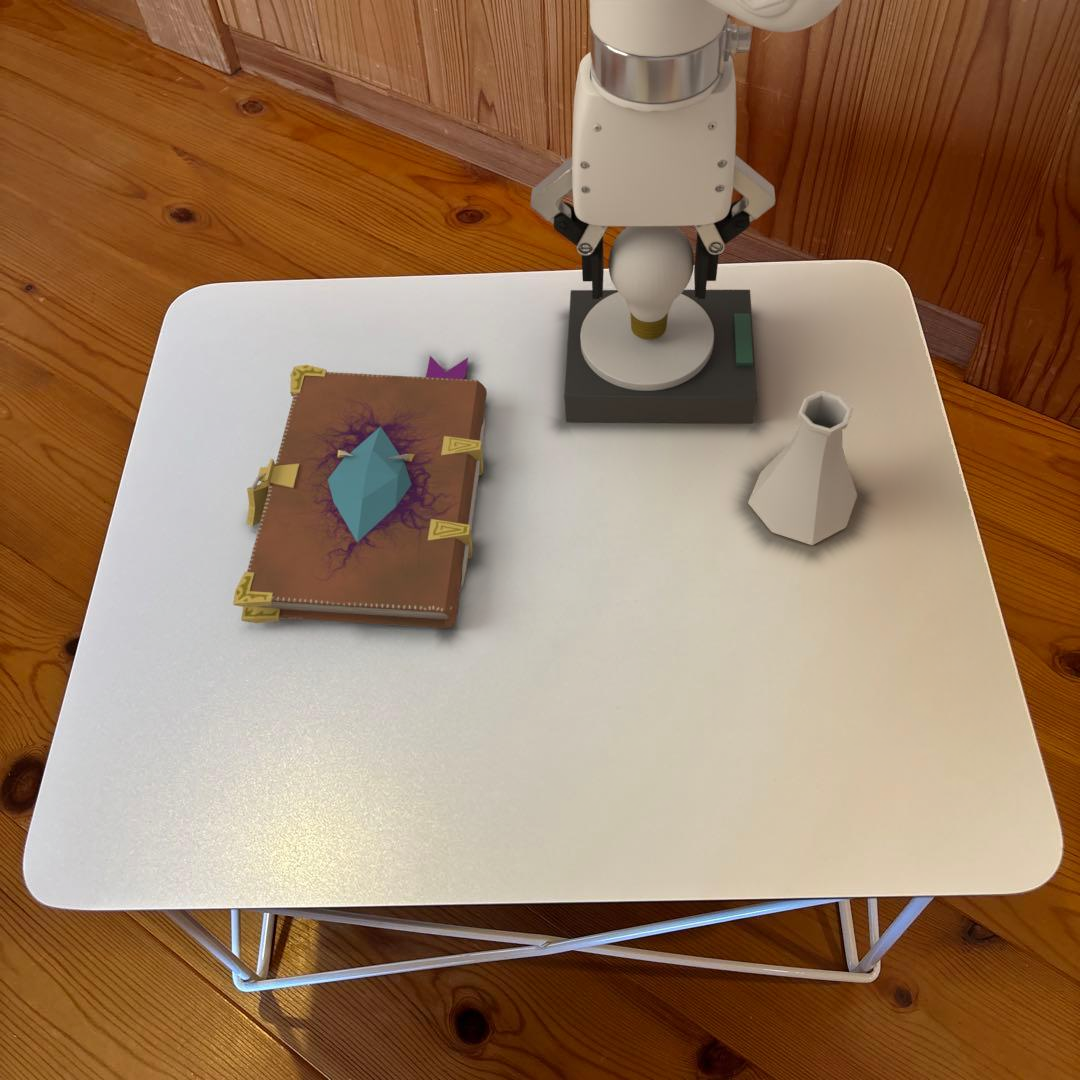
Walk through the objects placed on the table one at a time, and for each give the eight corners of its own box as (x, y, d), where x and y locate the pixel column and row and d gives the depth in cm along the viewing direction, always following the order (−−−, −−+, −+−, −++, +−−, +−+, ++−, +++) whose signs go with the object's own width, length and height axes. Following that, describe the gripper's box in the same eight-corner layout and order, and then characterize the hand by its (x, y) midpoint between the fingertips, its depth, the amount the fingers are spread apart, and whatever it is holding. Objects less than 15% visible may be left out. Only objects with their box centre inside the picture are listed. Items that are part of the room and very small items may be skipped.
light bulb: (596, 321, 79) (593, 216, 71) (665, 296, 80) (671, 189, 72) (630, 374, 76) (631, 270, 68) (702, 347, 77) (712, 242, 68)
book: (497, 367, 83) (494, 322, 79) (462, 643, 70) (456, 607, 66) (296, 357, 84) (283, 312, 80) (223, 627, 71) (203, 591, 67)
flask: (729, 506, 74) (744, 416, 65) (789, 444, 76) (811, 350, 68) (815, 563, 71) (841, 476, 62) (874, 497, 73) (908, 404, 65)
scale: (746, 316, 83) (751, 281, 80) (753, 423, 78) (758, 389, 74) (572, 317, 85) (570, 282, 81) (565, 422, 79) (563, 389, 76)
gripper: (807, 8, 60) (769, 248, 75) (509, 16, 62) (530, 249, 77) (817, 86, 56) (775, 323, 71) (499, 93, 58) (523, 323, 73)
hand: (648, 283), depth 74 cm, fingers open, 6 cm apart
